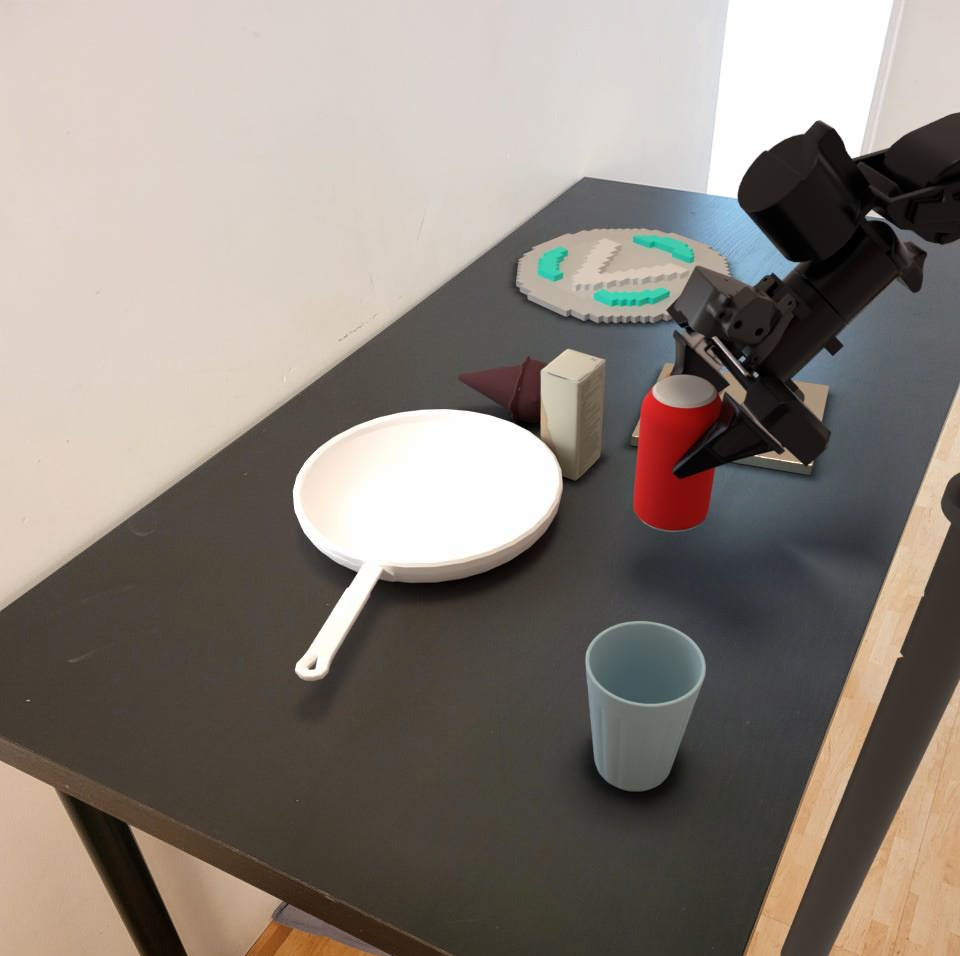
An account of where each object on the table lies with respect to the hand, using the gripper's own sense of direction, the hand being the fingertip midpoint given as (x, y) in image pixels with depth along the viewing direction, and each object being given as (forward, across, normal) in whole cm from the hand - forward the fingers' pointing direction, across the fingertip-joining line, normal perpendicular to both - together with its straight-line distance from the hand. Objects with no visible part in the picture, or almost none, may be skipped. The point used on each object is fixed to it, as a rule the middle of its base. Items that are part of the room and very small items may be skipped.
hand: (660, 452), depth 74 cm
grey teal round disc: (-4, -59, +21) cm, 63 cm away
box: (+10, -18, +7) cm, 22 cm away
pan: (+23, -7, -6) cm, 25 cm away
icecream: (+12, -28, +6) cm, 30 cm away
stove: (-3, -21, +21) cm, 30 cm away
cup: (+15, +20, +3) cm, 25 cm away
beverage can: (+4, 0, +6) cm, 7 cm away
